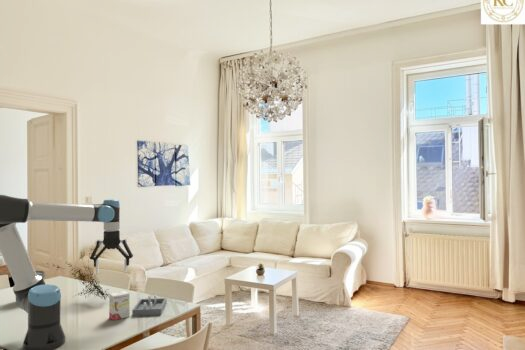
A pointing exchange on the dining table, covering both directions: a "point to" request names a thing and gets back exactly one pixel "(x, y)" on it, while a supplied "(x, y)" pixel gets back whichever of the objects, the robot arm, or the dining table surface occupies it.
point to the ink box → (119, 305)
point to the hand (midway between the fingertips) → (111, 272)
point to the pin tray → (149, 306)
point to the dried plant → (88, 281)
